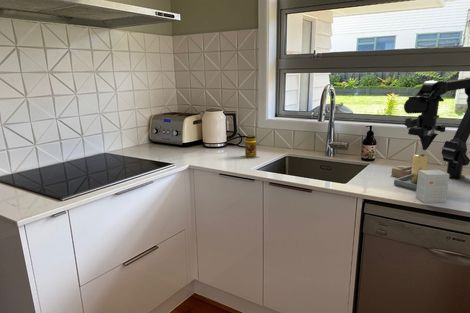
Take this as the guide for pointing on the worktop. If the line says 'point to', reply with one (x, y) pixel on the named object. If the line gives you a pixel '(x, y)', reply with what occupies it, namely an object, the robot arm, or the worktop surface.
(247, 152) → the condiment
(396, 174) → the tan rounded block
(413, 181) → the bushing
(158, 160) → the worktop surface
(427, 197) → the small box
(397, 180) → the tray
